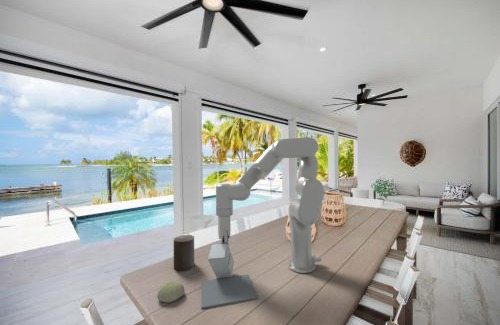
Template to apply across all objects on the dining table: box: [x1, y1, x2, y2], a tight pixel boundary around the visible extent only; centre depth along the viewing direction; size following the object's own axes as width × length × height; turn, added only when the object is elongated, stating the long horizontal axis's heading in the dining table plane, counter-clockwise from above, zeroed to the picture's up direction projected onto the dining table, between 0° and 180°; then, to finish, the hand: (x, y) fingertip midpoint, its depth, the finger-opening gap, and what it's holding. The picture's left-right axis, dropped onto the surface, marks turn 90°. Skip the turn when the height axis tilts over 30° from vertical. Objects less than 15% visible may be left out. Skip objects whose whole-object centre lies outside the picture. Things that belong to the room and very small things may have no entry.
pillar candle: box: [173, 234, 195, 272], centre depth 101 cm, size 10×10×15 cm
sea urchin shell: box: [157, 280, 185, 304], centre depth 78 cm, size 9×8×8 cm
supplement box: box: [207, 242, 235, 279], centre depth 89 cm, size 7×7×13 cm
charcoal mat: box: [200, 274, 259, 310], centre depth 80 cm, size 20×16×1 cm
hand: (224, 251), depth 93 cm, fingers closed
